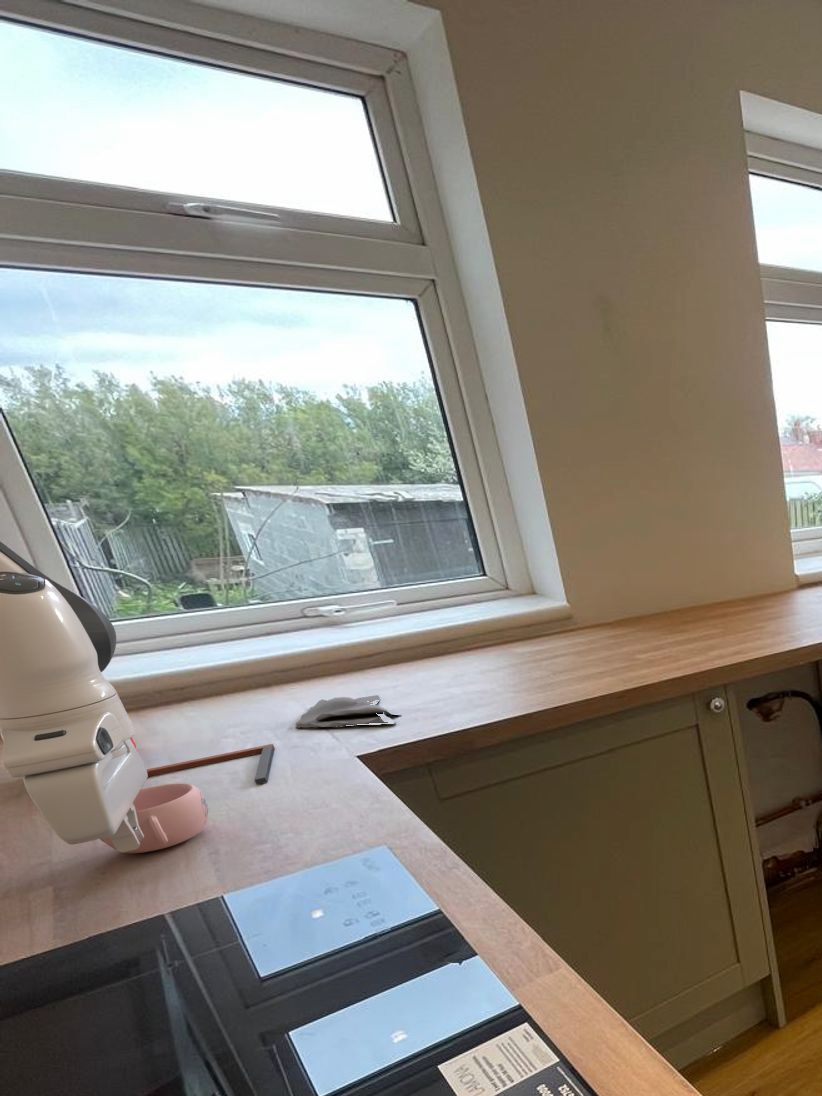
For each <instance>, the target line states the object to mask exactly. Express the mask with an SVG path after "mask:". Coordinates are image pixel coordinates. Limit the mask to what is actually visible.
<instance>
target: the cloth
mask: <svg viewBox="0 0 822 1096" xmlns="http://www.w3.org/2000/svg"><path fill="white" fill-rule="evenodd" d="M379 698H380V696H379V695H378V694H375V695H370V696H363V697H357V698H353V697H349V696H342V697H340V696H339V697H333V698H331V699H328V700H325V699H320V700H318V701H317V702H316V703H315V704H314V705H313V706H311V707H310V708H309V709H308V710H307V712H305V713H303V714H302V715H301V717H300V719H299V720H298V721H297V722H296V723H295V724H294V725H295V727H296V728H300V727H333V728H337V727H336V726H346V725H357V724H369V723H388V722H384V721H383V720H382V719H381V717H380V716H378V715H377V714H383V712H385V713H386V714H387V715H390V716H392V714H390V713H389V712H388V711H387V710H388V709H386V708H384V707H383V706H380V705H379V704H377V705H370V704H373V703H371V702H373V701H375V700H379V701H380V699H379ZM367 701H369V702H367ZM377 702H378V701H377ZM376 713H377V714H376ZM300 729H301V728H300Z"/></svg>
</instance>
